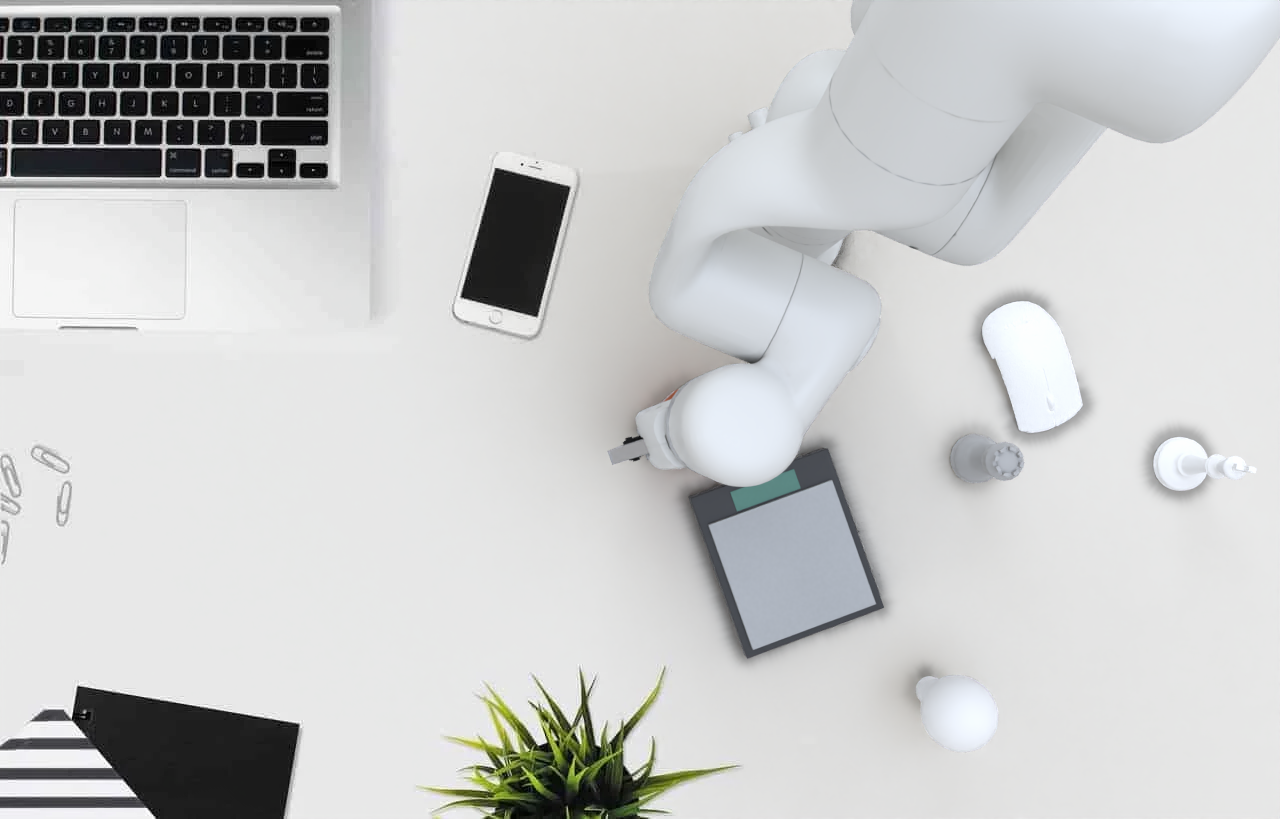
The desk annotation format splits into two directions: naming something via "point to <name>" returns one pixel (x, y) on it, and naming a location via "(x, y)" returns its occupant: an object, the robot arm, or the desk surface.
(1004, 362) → the computer mouse
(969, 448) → the rook chess piece
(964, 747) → the lightbulb
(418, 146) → the desk surface
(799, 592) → the scale
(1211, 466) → the chess piece
